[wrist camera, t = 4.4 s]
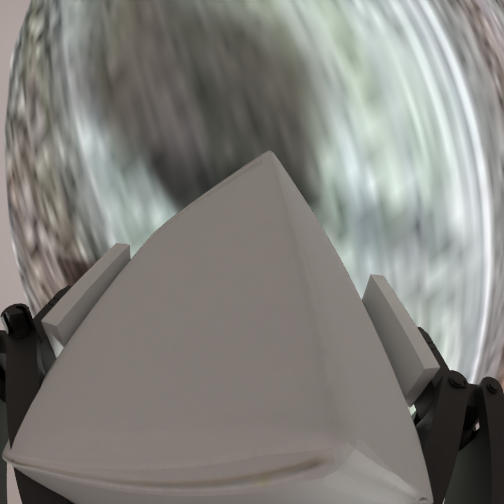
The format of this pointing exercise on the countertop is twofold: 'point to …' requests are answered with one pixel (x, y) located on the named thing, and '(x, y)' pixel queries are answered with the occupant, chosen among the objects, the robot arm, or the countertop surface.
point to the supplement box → (227, 370)
